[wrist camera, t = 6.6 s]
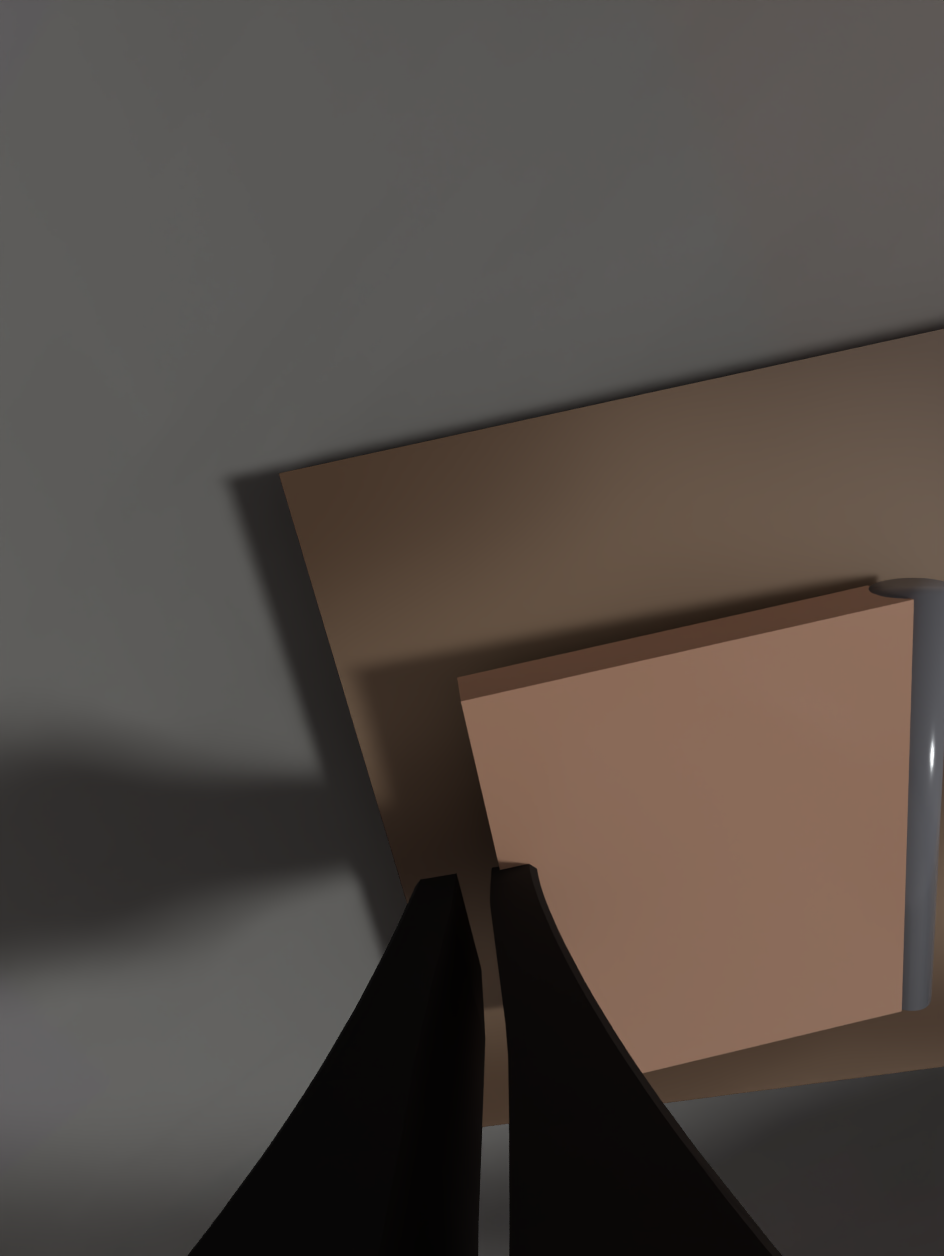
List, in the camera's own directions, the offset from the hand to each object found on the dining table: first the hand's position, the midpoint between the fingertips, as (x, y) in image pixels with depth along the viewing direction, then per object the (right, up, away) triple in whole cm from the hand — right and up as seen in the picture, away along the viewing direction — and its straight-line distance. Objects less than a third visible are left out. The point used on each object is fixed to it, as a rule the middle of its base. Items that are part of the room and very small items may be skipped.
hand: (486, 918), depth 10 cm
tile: (+4, +1, 0) cm, 4 cm away
